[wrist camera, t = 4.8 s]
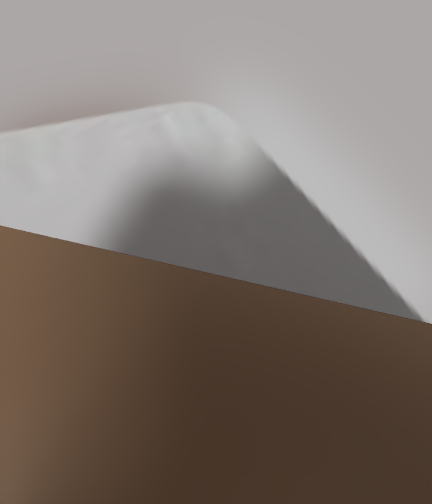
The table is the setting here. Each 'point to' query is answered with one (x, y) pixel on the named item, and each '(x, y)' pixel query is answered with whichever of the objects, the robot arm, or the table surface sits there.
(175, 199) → the table surface
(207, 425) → the walnut block
